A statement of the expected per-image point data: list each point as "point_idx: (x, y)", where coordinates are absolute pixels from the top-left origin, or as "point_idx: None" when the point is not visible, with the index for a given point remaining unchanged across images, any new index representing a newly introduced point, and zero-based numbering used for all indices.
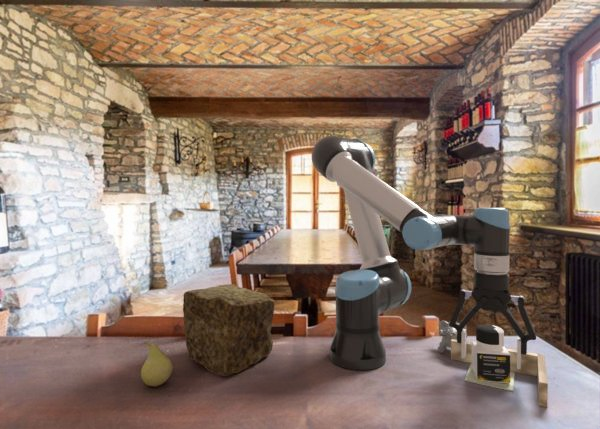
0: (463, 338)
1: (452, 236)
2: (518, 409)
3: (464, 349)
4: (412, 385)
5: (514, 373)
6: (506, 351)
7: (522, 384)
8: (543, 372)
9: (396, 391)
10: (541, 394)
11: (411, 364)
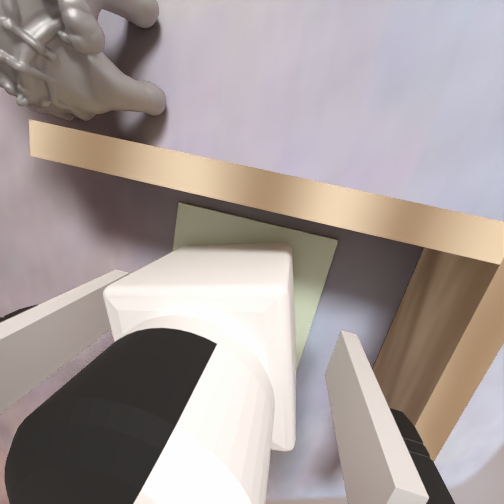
0: (30, 383)
1: None
2: (284, 453)
3: (93, 340)
4: (46, 384)
5: (335, 248)
6: (280, 434)
7: (340, 320)
8: None
9: (25, 415)
10: None
11: (7, 259)
